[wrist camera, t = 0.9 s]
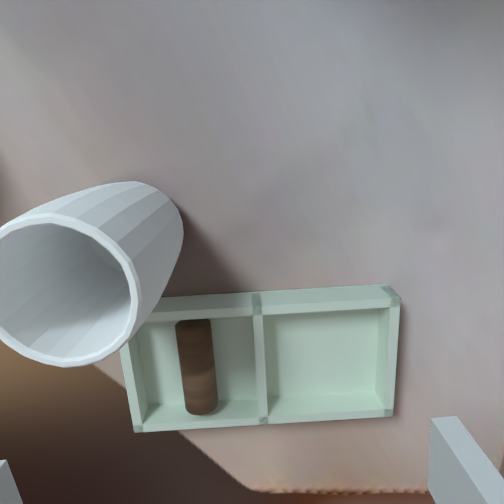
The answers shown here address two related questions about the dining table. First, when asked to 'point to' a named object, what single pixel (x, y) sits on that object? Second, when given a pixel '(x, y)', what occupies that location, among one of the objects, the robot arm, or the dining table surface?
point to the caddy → (271, 357)
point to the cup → (86, 271)
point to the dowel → (197, 365)
